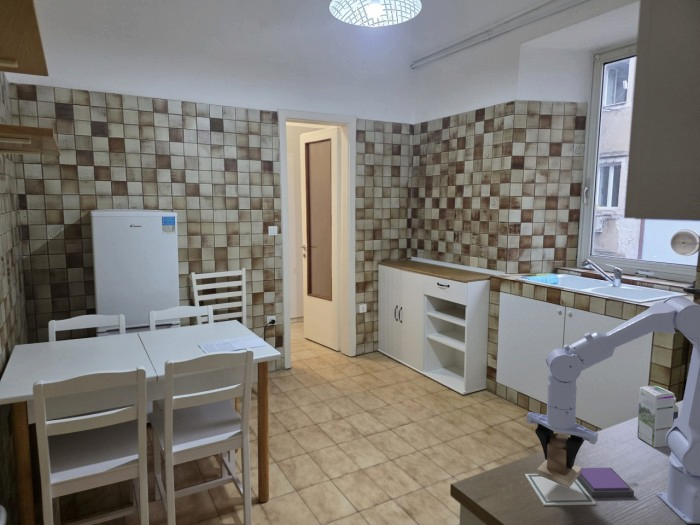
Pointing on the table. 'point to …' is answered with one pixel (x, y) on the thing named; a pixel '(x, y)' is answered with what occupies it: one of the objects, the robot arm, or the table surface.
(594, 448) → the table surface
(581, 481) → the ink pad
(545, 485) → the form card
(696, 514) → the robot arm
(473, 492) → the table surface
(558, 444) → the stamp
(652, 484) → the table surface
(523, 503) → the table surface
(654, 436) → the syrup box
